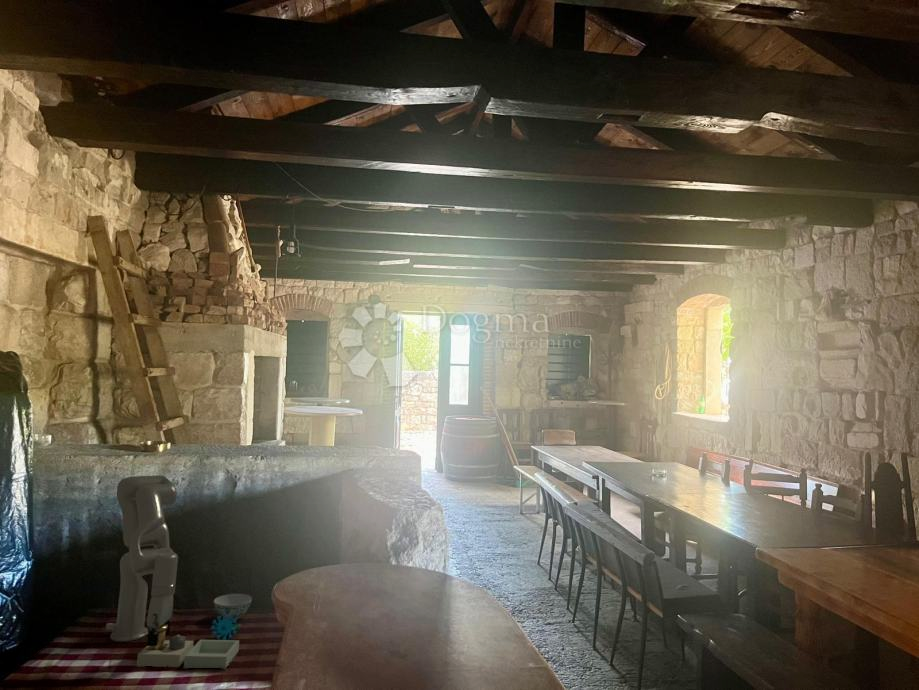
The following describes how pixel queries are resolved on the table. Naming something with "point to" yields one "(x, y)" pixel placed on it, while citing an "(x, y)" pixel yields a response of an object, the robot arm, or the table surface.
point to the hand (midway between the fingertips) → (158, 640)
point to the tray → (211, 654)
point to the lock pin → (160, 637)
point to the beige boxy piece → (166, 653)
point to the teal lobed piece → (225, 627)
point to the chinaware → (232, 605)
